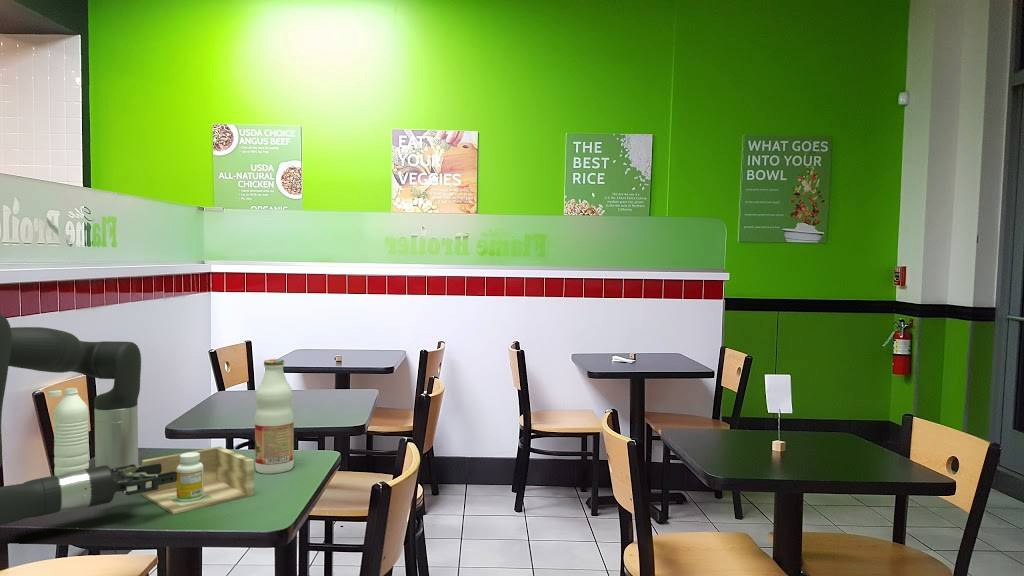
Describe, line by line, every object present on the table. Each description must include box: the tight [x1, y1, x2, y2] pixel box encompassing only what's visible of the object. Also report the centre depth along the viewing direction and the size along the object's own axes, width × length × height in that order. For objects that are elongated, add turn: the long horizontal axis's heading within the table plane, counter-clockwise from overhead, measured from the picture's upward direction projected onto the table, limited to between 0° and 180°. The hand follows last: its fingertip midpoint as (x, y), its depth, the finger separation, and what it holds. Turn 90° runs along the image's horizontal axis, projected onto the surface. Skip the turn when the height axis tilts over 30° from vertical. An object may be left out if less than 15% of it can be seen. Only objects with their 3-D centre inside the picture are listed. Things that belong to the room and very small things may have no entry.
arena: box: [141, 446, 255, 515], centre depth 158 cm, size 18×18×8 cm
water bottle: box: [47, 387, 90, 476], centre depth 152 cm, size 9×6×25 cm
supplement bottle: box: [176, 451, 204, 502], centre depth 153 cm, size 5×5×10 cm
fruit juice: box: [254, 358, 295, 475], centre depth 178 cm, size 9×9×28 cm
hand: (168, 471), depth 150 cm, fingers open, 8 cm apart
